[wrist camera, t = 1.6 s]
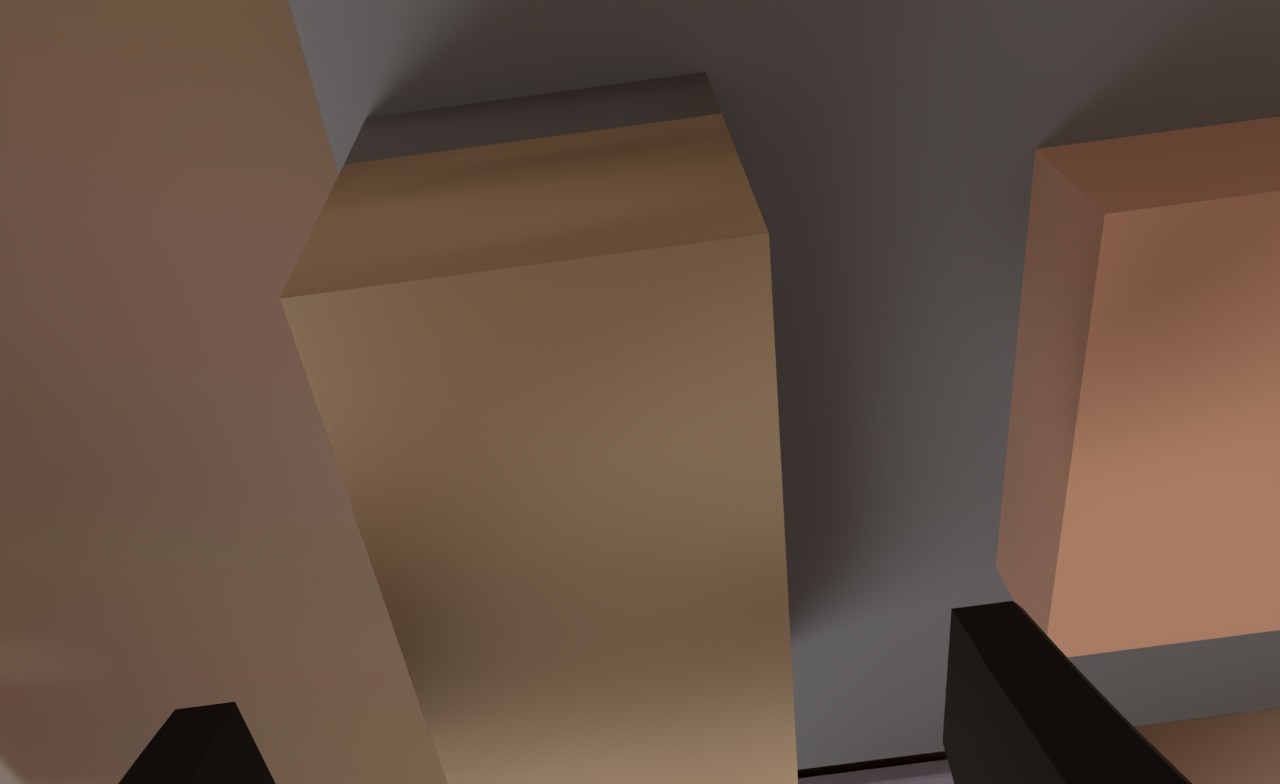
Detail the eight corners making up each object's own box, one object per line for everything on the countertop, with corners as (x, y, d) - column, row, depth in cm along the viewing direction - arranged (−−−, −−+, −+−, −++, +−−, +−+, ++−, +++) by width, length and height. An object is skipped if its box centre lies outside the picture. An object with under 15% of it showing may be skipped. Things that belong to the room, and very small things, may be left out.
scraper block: (753, 661, 18) (805, 918, 14) (518, 692, 18) (507, 957, 14) (705, 72, 12) (768, 232, 8) (365, 117, 12) (279, 298, 9)
